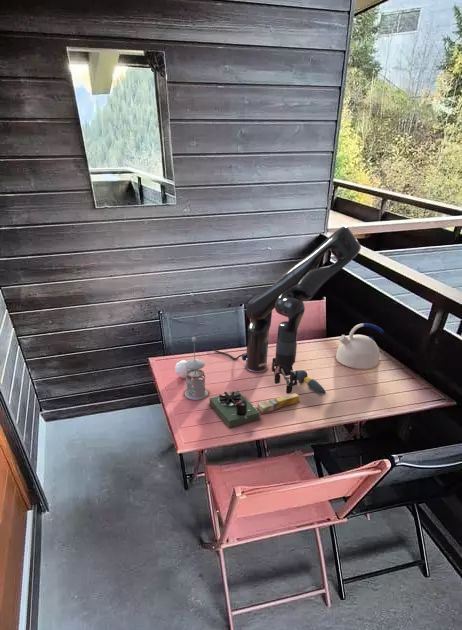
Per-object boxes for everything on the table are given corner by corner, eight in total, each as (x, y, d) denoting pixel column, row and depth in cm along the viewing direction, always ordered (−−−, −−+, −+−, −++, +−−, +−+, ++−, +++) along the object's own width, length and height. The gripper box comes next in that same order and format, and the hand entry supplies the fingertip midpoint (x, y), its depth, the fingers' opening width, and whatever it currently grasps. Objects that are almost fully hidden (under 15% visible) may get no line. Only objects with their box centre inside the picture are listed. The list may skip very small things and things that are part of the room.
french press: (190, 402, 179) (187, 344, 164) (179, 389, 187) (175, 333, 172) (211, 396, 183) (210, 340, 168) (200, 383, 191) (198, 329, 176)
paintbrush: (330, 393, 186) (332, 382, 183) (322, 396, 183) (324, 386, 180) (297, 375, 198) (298, 365, 195) (289, 378, 196) (290, 368, 193)
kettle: (329, 351, 219) (335, 315, 208) (369, 349, 221) (377, 314, 210) (342, 370, 202) (349, 333, 192) (385, 368, 204) (394, 331, 194)
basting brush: (262, 413, 173) (262, 406, 171) (257, 408, 176) (257, 402, 174) (299, 403, 179) (300, 396, 177) (294, 398, 182) (294, 392, 180)
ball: (189, 382, 198) (197, 372, 192) (173, 380, 193) (180, 370, 187) (186, 368, 200) (194, 358, 195) (170, 365, 196) (178, 355, 190)
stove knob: (243, 408, 170) (244, 398, 167) (248, 414, 167) (248, 403, 164) (234, 411, 168) (234, 400, 165) (238, 416, 165) (239, 405, 162)
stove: (209, 404, 178) (209, 397, 176) (238, 397, 182) (238, 390, 181) (230, 429, 164) (230, 422, 162) (261, 420, 169) (261, 413, 167)
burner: (214, 398, 176) (214, 394, 175) (234, 393, 179) (235, 389, 178) (224, 409, 169) (224, 405, 168) (245, 403, 173) (245, 399, 172)
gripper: (267, 344, 167) (265, 382, 177) (288, 360, 157) (284, 398, 167) (284, 341, 170) (281, 378, 180) (305, 355, 160) (301, 394, 169)
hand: (282, 388), depth 173 cm, fingers open, 8 cm apart
